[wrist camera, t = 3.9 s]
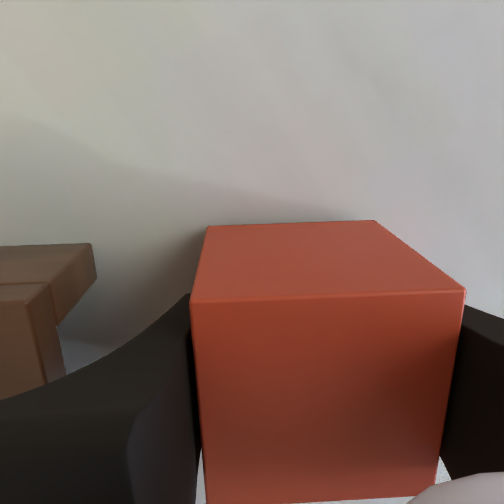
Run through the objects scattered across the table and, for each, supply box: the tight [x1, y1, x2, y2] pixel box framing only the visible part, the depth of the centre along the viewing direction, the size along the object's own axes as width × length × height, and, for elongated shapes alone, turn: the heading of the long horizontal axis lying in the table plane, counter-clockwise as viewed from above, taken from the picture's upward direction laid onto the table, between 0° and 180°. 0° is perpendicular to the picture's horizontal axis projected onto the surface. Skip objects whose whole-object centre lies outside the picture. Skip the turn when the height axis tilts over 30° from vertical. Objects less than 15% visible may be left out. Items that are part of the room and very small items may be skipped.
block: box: [189, 220, 466, 504], centre depth 10 cm, size 5×5×5 cm
